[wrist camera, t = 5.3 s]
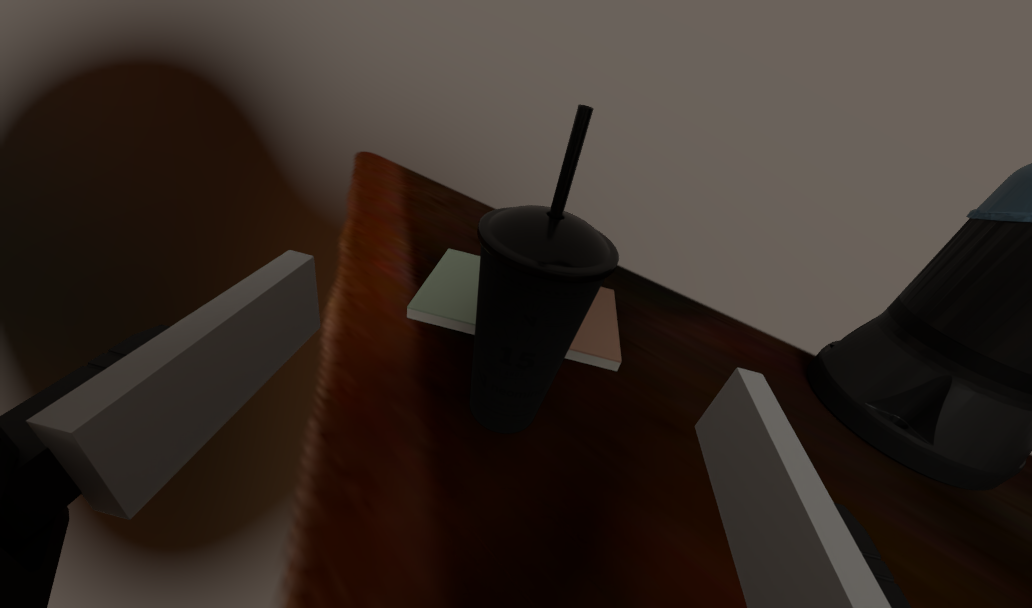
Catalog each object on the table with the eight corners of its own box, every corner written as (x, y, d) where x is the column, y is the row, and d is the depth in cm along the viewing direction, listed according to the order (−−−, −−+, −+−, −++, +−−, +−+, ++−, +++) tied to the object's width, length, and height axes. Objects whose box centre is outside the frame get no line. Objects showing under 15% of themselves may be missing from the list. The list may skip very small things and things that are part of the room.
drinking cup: (451, 364, 31) (496, 77, 20) (544, 372, 32) (635, 109, 21) (446, 449, 24) (507, 101, 13) (561, 454, 26) (703, 144, 15)
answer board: (610, 299, 44) (613, 290, 43) (616, 371, 34) (621, 361, 33) (447, 257, 44) (448, 248, 44) (406, 317, 34) (407, 306, 34)
